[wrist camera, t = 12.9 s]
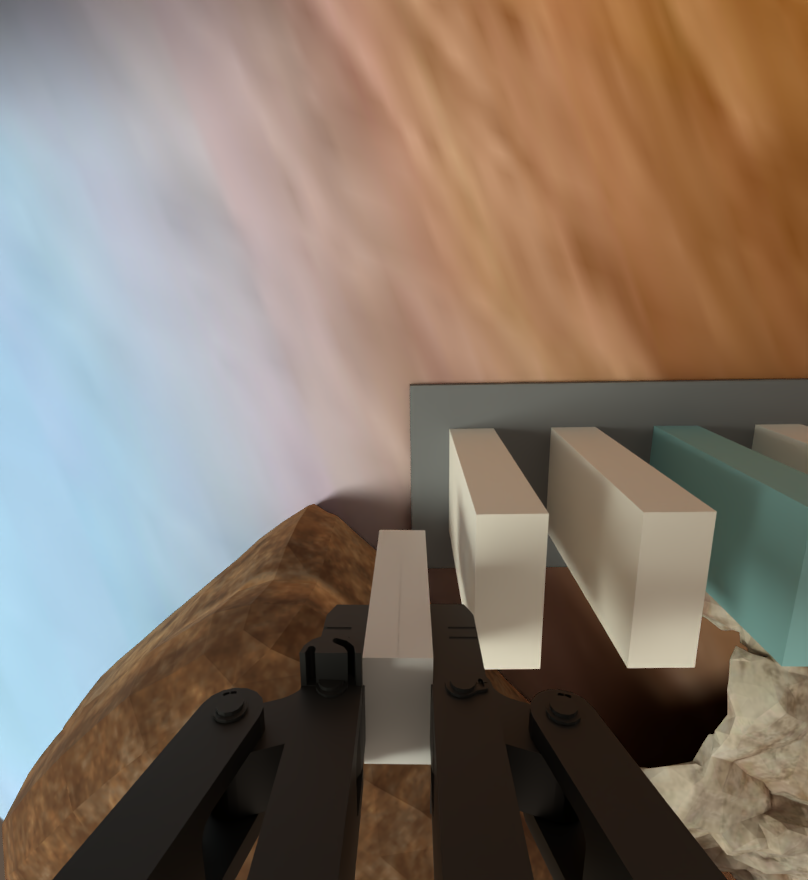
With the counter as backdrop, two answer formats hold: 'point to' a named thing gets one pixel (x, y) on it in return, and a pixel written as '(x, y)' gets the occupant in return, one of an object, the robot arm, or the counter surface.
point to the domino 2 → (630, 546)
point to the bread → (209, 672)
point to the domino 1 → (497, 548)
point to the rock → (749, 768)
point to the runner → (574, 405)
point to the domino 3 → (783, 444)
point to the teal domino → (748, 533)
